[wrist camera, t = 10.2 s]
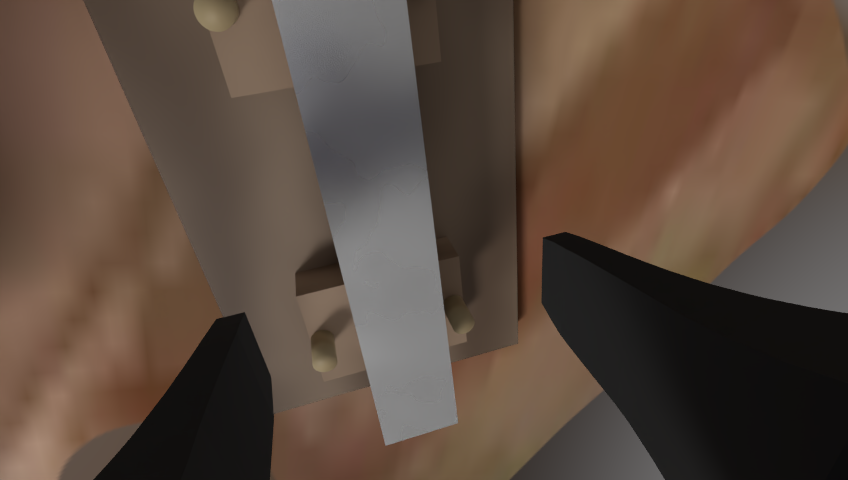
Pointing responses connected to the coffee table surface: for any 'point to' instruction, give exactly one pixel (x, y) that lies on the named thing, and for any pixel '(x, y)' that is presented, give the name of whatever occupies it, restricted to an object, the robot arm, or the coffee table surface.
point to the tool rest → (297, 181)
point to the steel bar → (376, 197)
